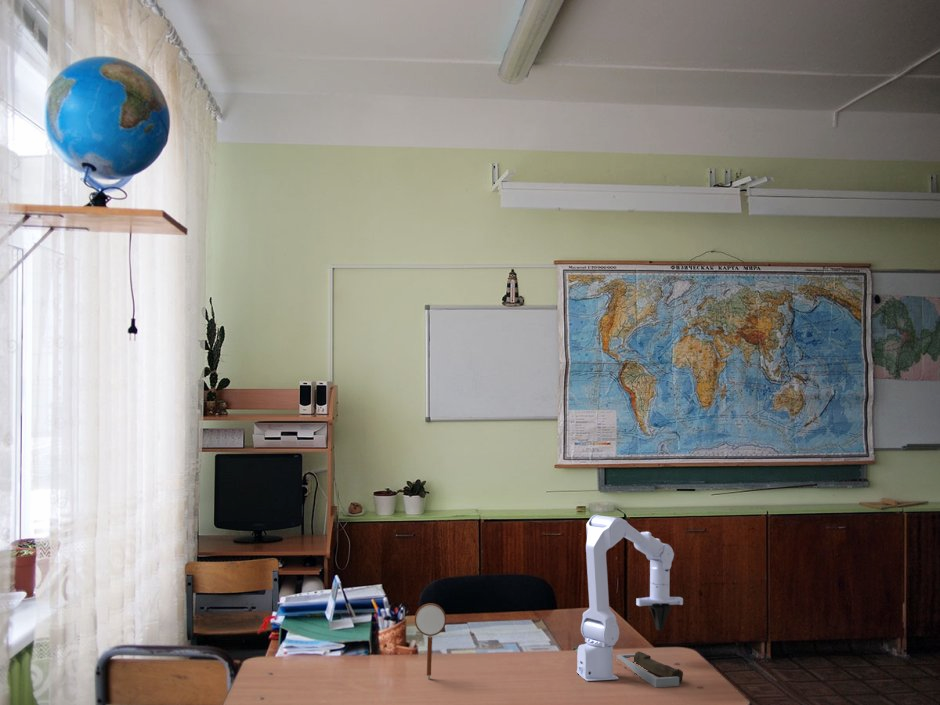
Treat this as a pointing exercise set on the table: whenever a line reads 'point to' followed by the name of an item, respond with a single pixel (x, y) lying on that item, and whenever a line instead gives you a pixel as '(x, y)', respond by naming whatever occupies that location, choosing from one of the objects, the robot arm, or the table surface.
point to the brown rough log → (656, 666)
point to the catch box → (649, 674)
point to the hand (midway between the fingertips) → (659, 629)
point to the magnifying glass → (430, 626)
